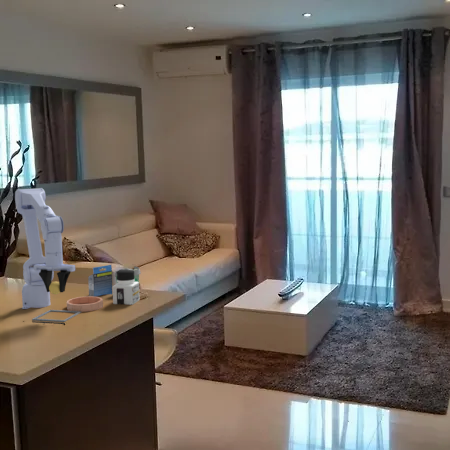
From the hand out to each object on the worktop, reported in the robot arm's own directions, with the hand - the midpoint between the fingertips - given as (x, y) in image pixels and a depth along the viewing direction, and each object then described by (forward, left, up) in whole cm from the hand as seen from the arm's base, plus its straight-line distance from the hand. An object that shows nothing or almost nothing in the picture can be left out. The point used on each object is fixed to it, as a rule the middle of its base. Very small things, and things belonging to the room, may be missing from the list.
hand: (55, 291), depth 209 cm
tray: (0, 0, -10) cm, 10 cm away
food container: (+12, +38, -10) cm, 41 cm away
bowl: (+4, +13, -10) cm, 17 cm away
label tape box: (+1, +33, -10) cm, 34 cm away
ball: (0, 0, -1) cm, 1 cm away
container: (+16, +23, -10) cm, 30 cm away
